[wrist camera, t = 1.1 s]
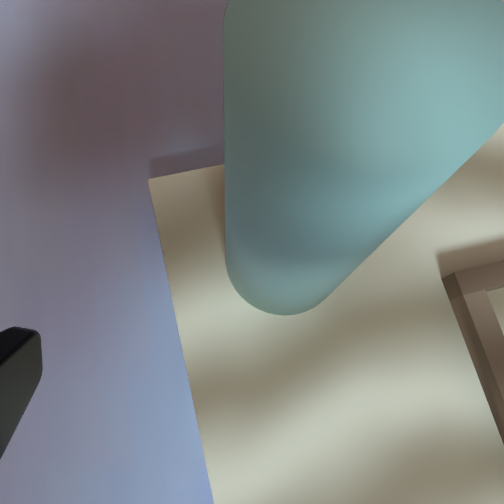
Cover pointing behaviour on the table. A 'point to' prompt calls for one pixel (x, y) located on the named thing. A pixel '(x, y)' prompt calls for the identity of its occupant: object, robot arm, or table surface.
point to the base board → (350, 355)
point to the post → (345, 130)
